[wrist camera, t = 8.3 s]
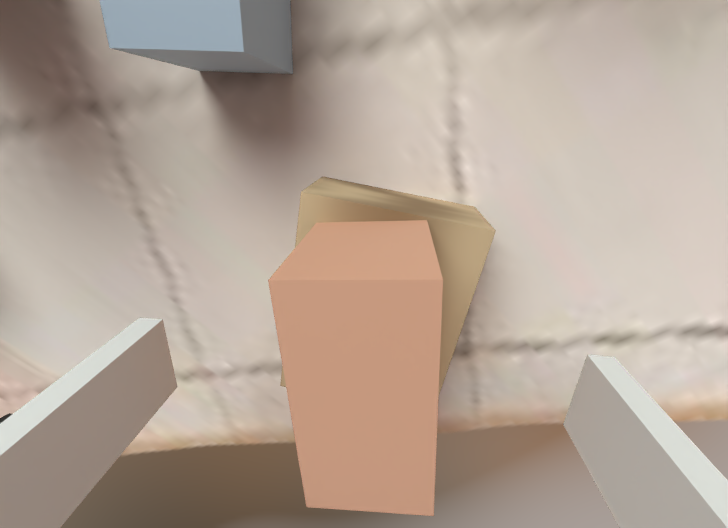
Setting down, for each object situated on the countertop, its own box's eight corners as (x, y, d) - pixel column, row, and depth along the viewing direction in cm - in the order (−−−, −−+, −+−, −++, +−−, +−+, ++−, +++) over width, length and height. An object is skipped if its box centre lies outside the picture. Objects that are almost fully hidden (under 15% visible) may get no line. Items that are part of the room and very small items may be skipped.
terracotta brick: (423, 396, 15) (433, 515, 11) (334, 393, 16) (306, 507, 11) (427, 220, 12) (442, 279, 8) (316, 222, 13) (267, 280, 8)
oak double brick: (303, 335, 19) (280, 385, 16) (323, 175, 16) (300, 191, 12) (425, 361, 19) (431, 417, 16) (473, 205, 16) (495, 230, 12)
